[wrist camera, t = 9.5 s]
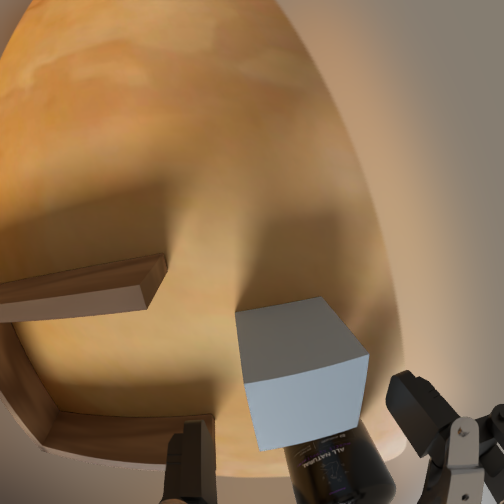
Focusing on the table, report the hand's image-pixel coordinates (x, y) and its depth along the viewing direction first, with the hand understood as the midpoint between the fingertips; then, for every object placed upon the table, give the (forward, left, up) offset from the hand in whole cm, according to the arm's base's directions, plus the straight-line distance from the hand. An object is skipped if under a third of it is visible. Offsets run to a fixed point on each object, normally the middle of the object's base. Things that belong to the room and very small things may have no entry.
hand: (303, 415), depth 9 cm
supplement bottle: (+11, +3, -7) cm, 13 cm away
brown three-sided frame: (0, -13, -6) cm, 14 cm away
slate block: (0, 0, -6) cm, 6 cm away
